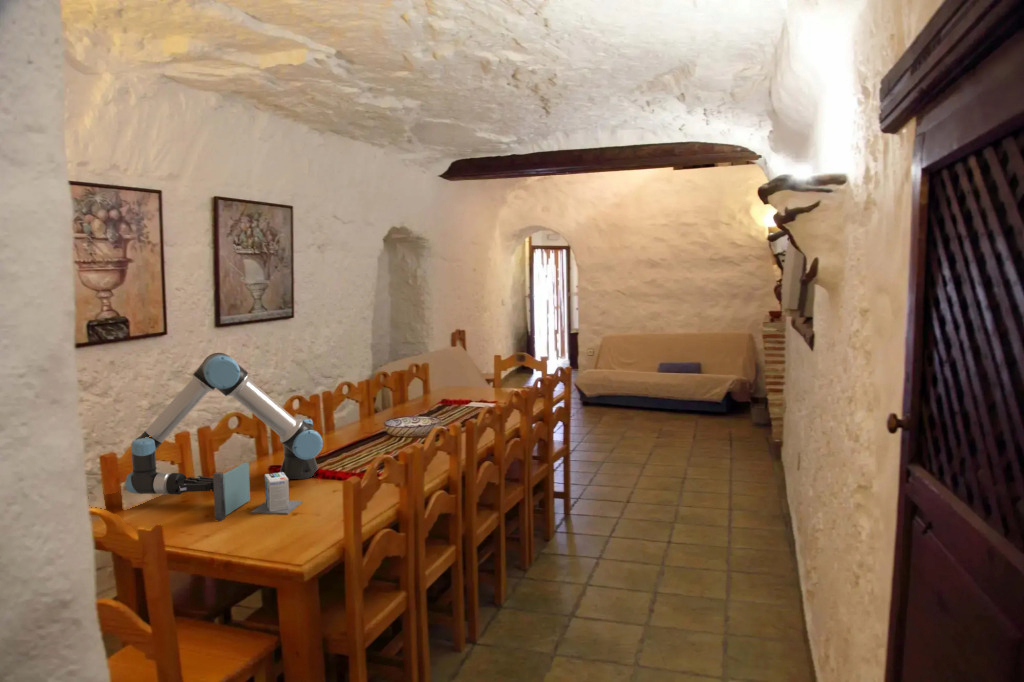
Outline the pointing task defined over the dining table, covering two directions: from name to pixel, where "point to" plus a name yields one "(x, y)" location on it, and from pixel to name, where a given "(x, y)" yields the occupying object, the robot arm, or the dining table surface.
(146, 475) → the robot arm
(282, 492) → the light bulb box
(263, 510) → the rubber mat
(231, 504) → the gate
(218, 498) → the gate post
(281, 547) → the dining table surface
